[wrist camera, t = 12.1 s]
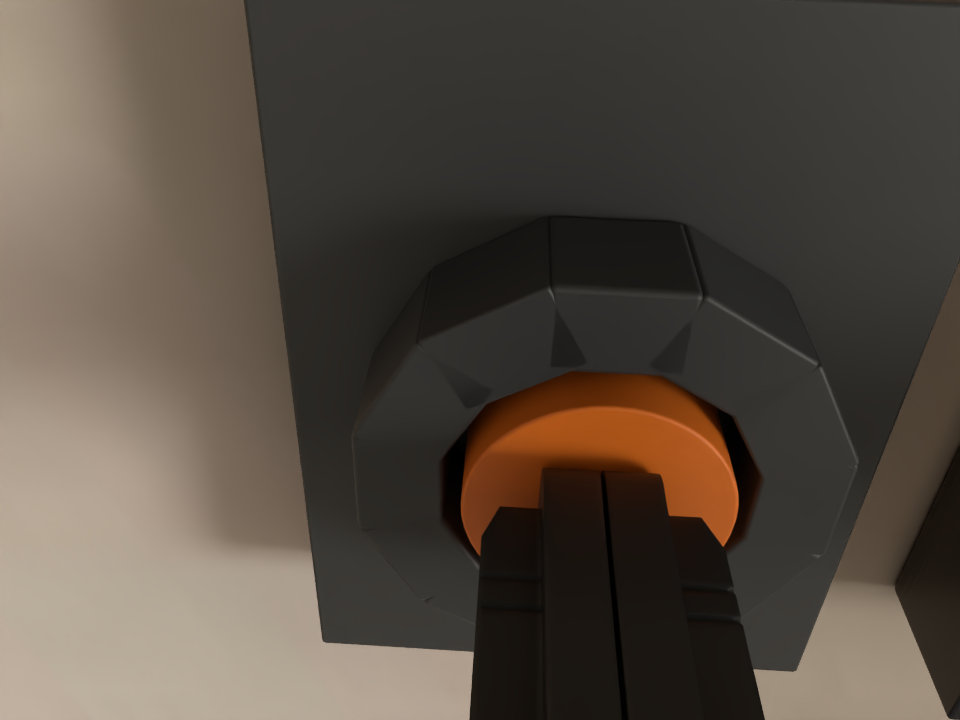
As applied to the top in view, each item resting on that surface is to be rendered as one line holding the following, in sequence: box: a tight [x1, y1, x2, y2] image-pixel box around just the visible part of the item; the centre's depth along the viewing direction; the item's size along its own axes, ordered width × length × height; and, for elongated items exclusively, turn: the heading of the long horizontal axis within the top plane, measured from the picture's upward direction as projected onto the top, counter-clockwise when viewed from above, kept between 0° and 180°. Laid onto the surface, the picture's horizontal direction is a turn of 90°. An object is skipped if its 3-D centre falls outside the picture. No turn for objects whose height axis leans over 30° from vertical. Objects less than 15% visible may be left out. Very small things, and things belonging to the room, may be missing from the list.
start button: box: [461, 371, 739, 555], centre depth 12 cm, size 4×4×2 cm
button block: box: [244, 0, 960, 672], centre depth 13 cm, size 12×9×4 cm
